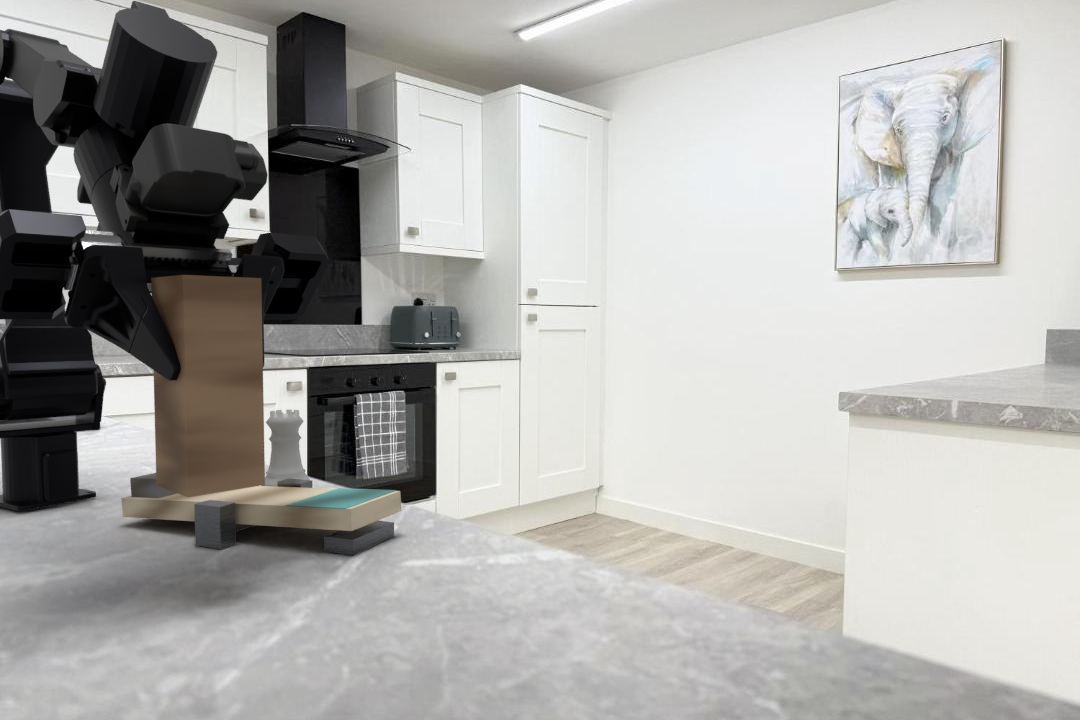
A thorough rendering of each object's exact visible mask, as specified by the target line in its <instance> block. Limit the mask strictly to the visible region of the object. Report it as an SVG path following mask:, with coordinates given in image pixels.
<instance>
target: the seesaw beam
mask: <svg viewBox="0 0 1080 720" xmlns="http://www.w3.org/2000/svg"><path fill="white" fill-rule="evenodd" d="M129 480H130V494H131V495H129V496H123V497H121V513H122V518H135V519H149V520H151V519H152V520H165V521H181V522H182V521H184V522H195V509H194V504H196V503H200V502H204V501H207V500H216V501H224V502H233V503H235V530H236V532H239V531H242V530H245V529H248V528H251V527H255V526H265V527H266V526H267V527H277V528H279V527H281V528H282V527H283V528H296V529H298V528H299V529H310V530H312V529H315V530H328V531H339V530H343V531H353V530H356V529H358V528H361V527H363V526H366V525H368V524H371V523H373V522H376V521H381V520H383V519H385V518H388V517H390V516H392V515H395V514H398V513H400V512H402V497H401V491H400V490H396V489H378V488H377V489H373V488H372V489H371V488H369V489H368V488H346V487H345V488H343V487H339V488H330V487H329V488H324V487H323V488H322V487H321V488H320V487H313V488H301V487H272V486H255V487H249V488H243V489H237V490H231V491H225V492H219V493H213V494H207V495H201V496H195V497H189V498H188V497H185V496H183V495H180V494H177V493H175V492H172V491H170V490H167V489H164V488H162V487H159V486H156V472H152V473H147V474H143V475H138V476H134V477H133V476H132V477H130V479H129Z"/></svg>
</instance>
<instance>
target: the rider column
mask: <svg viewBox="0 0 1080 720" xmlns="http://www.w3.org/2000/svg"><path fill="white" fill-rule="evenodd" d="M151 290H152V293H151V296H152V298H153V300H154V302H155V305H156V307H157V309H158V311H159V313H160V315H161V317H162V320H163V322H164V324H165V326H166V328H167V330H168V332H169V335H170V337H171V339H172V341H173V343H174V346H175V349H176V352H177V355H178V359H179V362H180V365H181V371H180V373H179V376H178V378H177V380H173V381H169V380H167V379H166V378H164V377H163V376H161V375H160V374H158V373H157V372H155V371H154V370H153V400H154V403H153V404H154V406H153V407H154V438H155V439H154V442H155V473H156V486H159V487H162V488H164V489H167V490H170V491H172V492H175V493H177V494H180V495H183V496H185V497H188V498H189V497H195V496H201V495H207V494H213V493H219V492H225V491H231V490H237V489H243V488H249V487H255V486H261V485H265V477H266V469H265V468H266V467H265V466H266V465H265V464H266V463H265V462H266V461H265V417H264V416H265V413H264V411H265V410H264V407H265V406H264V367H263V347H262V291H261V278H245V277H222V276H199V275H176V276H166V277H155V278H151Z"/></svg>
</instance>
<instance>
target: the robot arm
mask: <svg viewBox="0 0 1080 720" xmlns="http://www.w3.org/2000/svg"><path fill="white" fill-rule="evenodd" d="M217 57H218V50H217V47H216V46H215V44H214V42H212V40H210V39H208V38H205V37H204V36H203V35H201V34H200V33H199V32H197V31H196V30H194V29H192V28H191V27H189V26H187V25H186V24H184V23H182V22H180V21H178V20H176V19H174V18H172V17H170V16H169V14H168V12H167V11H166V9H165V8H161V7H158V6H154V5H151V4H148V3H144V2H141V1H137V0H132V2H131V5H130V8H124V9H123V8H122V9H119V10H118V11H117V12H116V13H115V15H114V18H113V23H112V27H111V31H110V34H109V38H108V42H107V47H106V51H105V56H104V59H103V63H102V67H101V68H100V67H96V66H93V65H91V64H90V63H88V62H87V61H86V60H83V58H81V57H79V56H78V55H76V54H74V52H71V51H70V50H69V47H68V46H67V45H66V44H63V43H61V42H60V41H59V40H58V39H56V38H51V37H46V36H42V35H37V34H34V33H28V32H25V31H21V30H16V29H11V28H6V29H5V30H2V29H0V320H4V322H5V328H4V329H3V331H2V333H0V422H2V421H5V422H13V421H14V422H15V421H26V420H39V419H50V418H62V417H63V418H64V417H65V418H66V417H74V416H75V418H74V419H73V418H72V419H61V420H51V421H50V420H49V421H41V422H40V421H39V422H27V423H24V422H23V423H16V424H12V423H11V424H4V425H0V454H1V455H0V456H1V457H0V458H1V459H0V460H1V461H0V463H1V483H2V494H0V508H5V509H8V510H12V511H16V512H24V511H31V510H36V509H42V508H47V507H51V506H55V505H62V504H66V503H67V504H68V503H71V502H77V501H82V500H83V501H84V500H86V499H93V498H96V497H97V491H95V490H90V489H85V488H81V487H80V484H79V483H80V480H79V479H80V478H79V452H78V432H79V431H80V432H81V431H99V430H100V428H101V422H102V415H103V407H104V406H103V404H104V394H105V391H106V386H107V381H106V378H104V377H103V373H102V370H101V367H100V365H99V364H97V363H96V362H95V357H94V350H93V349H94V348H93V339H92V334H91V333H93V334H95V335H97V336H98V337H100V338H102V339H104V340H106V341H108V342H109V343H110V344H113V345H114V346H117V347H118V348H120V349H122V350H123V351H125V352H126V353H128V354H130V355H131V356H132V357H134V358H135V359H136V360H138V361H139V362H141V363H142V364H144V365H145V366H146V367H148V368H149V369H151V370H153V372H154V371H155V372H157V373H158V374H160V375H161V376H163V377H164V378H166V379H167V380H169V381H173V380H177V378H178V376H179V373H180V371H181V365H180V362H179V359H178V355H177V352H176V349H175V346H174V343H173V341H172V339H171V337H170V335H169V332H168V330H167V328H166V326H165V324H164V322H163V320H162V317H161V315H160V313H159V311H158V309H157V307H156V305H155V302H154V300H153V298H152V290H151V278H155V277H166V276H176V275H199V276H222V277H245V278H261V291H262V347H263V368H264V366H265V321H268V320H269V321H272V320H273V321H275V320H276V321H277V320H278V321H280V320H281V321H285V320H287V321H288V320H289V321H292V320H293V321H294V320H296V319H297V318H300V317H301V316H303V315H304V314H305V312H306V310H307V308H308V306H309V305H310V303H311V301H312V298H313V296H314V294H315V292H316V290H317V288H318V286H319V284H320V282H321V280H322V279H323V277H324V275H325V272H326V270H327V268H328V267H329V264H330V262H331V261H330V259H329V257H328V255H327V254H326V252H325V250H324V248H323V246H322V245H321V244H320V242H319V241H318V239H317V237H316V236H309V235H301V234H299V235H298V234H287V233H278V232H277V233H274V232H266V233H265V232H264V233H260V234H259V236H258V238H257V240H256V242H255V244H254V247H253V249H252V252H251V254H246V253H244V254H243V255H242V256H241V257H233V253H232V250H230V249H227V248H217V247H216V245H215V243H216V240H224V239H225V237H226V234H227V232H228V230H229V227H230V224H229V223H230V222H229V221H228V219H227V217H226V216H225V214H224V212H225V210H226V209H227V208H228V207H229V205H230V204H231V203H232V201H233V200H234V199H236V200H244V201H249V202H250V201H253V200H254V199H255V198H256V196H257V195H258V194H259V193H260V192H261V191H262V190H263V188H264V186H265V185H266V184H267V183H268V170H267V166H266V162H265V160H264V157H263V155H262V154H261V153H260V152H259V151H258V149H257V147H256V146H255V145H254V144H253V143H249V142H248V141H243V140H239V139H238V140H237V139H234V138H233V137H232V136H231V135H229V134H228V133H224V132H218V131H212V130H209V129H208V130H207V129H202V128H197V127H195V126H194V124H195V122H196V120H197V117H198V113H199V110H200V107H201V105H202V101H203V98H204V97H205V96H204V95H205V92H206V90H207V86H208V84H209V82H210V77H211V74H212V73H213V69H214V65H215V63H216V61H217ZM59 146H60V147H66V148H72V149H73V160H74V164H75V166H76V169H77V171H78V174H79V180H78V181H79V182H78V185H77V189H76V190H77V191H76V192H77V193H76V199H77V202H78V203H79V204H84V205H85V204H86V205H91V207H92V209H93V212H94V215H95V217H96V218H97V221H98V224H97V228H96V230H94V229H93V230H91V229H87V227H86V224H85V221H84V219H83V216H82V215H77V214H67V213H54V212H53V210H52V203H51V196H50V188H49V180H48V179H49V178H48V172H47V166H48V164H49V163H50V161H51V160H52V158H53V157H54V155H55V152H56V151H57V149H58V148H59ZM63 290H65V291H68V292H67V295H68V300H67V301H66V299H65V296H64V292H63ZM66 304H67V305H66Z"/></svg>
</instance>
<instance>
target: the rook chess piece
mask: <svg viewBox="0 0 1080 720" xmlns="http://www.w3.org/2000/svg"><path fill="white" fill-rule="evenodd" d="M292 410H293V411H292ZM303 423H304V420H303V418H302V417H301V416H300V410H299V409H285V413H284V412H283V410H282V409H275V410H270V411H269V417H268V418H267V420H266V421H265V424H266V426H268V427H269V429H270V431H271V434H270V435H271V436H269V438H268V440H269V441H270V443H271V446H270V447H271V451H270V458H269V465H268V469H267V470H266V471H265V485H261V486H272V487H277V481H281V480H285V479H289V478H291V479H302V480H311V478H310V477H309V476H308V475H307V474H306V469H305V468H304V466H303V463H302V457H301V451H300V440H301V439H302V436H301V435H300V433H299V431H300V428H301V426H302V425H303Z"/></svg>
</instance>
